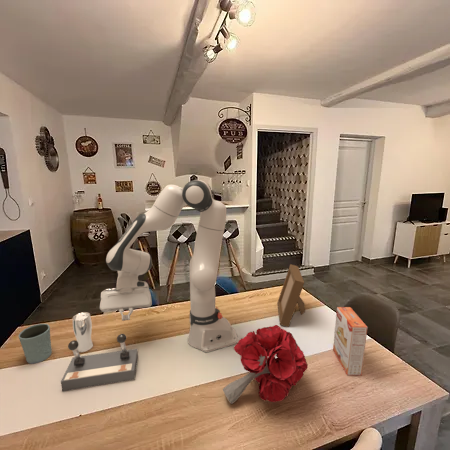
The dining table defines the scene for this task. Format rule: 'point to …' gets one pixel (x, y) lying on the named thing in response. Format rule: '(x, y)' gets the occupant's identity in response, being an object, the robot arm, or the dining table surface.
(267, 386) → the bouquet
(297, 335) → the dining table surface
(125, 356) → the lever
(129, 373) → the switch unit
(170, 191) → the robot arm
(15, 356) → the dining table surface
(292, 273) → the photo frame
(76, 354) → the lever
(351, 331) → the cracker box
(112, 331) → the dining table surface
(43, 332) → the green plant pot
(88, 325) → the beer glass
